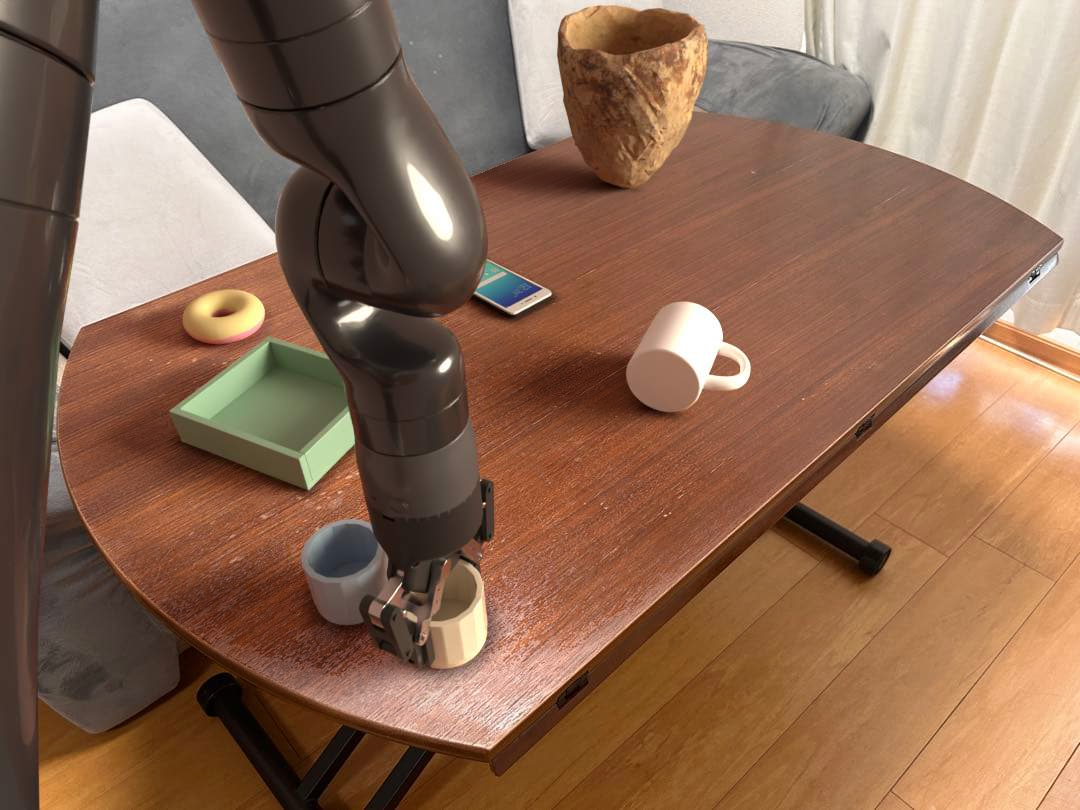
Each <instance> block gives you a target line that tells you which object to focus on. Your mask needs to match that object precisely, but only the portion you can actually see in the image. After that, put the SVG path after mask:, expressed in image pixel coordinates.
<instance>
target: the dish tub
mask: <svg viewBox="0 0 1080 810" xmlns="http://www.w3.org/2000/svg"><path fill="white" fill-rule="evenodd" d="M168 413H169V416H170V417H171V420H172V423H173V425H174V427H175V430H176V432H177V434H178V436H179V439H180V441H181V442H182V443H184V444H187V445H190V446H192V447H195V448H197V449H200V450H203V451H205V452H207V453H211V454H213V455H216V456H218V457H221V458H222V459H227V460H229V461H231V462H233V463H237V464H239V465H242V466H244V467H246V468H249V469H252V470H254V471H257V472H259V473H263V474H265V475H267V476H270V477H272V478H275V479H278V480H280V481H282V482H286V483H287V484H290V485H294V486H295V487H299V488H301V489H304V490H305V491H310V490H311V489H312V488H313V487H314V486H315V485H316V484H317V483H318V482H319V481H320V480H321V479H322V478H323V477H324V476H325V475H326V473H328V471H330V470H331V469H332V468H333V466H335V465H336V464H337V463H338V461H339V460H341V459H342V458H343V457H344V456H345V454H346V453H347V452H348V451H349V450H350V449H351V448H352V447H353V446H355V439H354V431H353V426H352V422H351V418H350V413H349V409H348V405H347V400H346V396H345V392H344V386H343V381H342V378H341V376H340V374H339V373H338V371H337V369H336V368H335V366H334V365H333V364H332V362H331V361H330V359H329V358H328V356H327V355H326V353H325V352H321V351H318V350H316V349H312V348H309V347H305V346H302V345H299V344H296V343H293V342H289V341H286V340H283V339H279V338H276V337H273V336H267V337H266V338H265V339H263V340H261V341H260V342H259V343H257V344H256V345H255V346H254V347H252V348H251V349H250V350H248V351H247V352H246V353H244V354H243V355H241V356H240V357H239V358H237V359H236V360H235V361H234V362H233V363H231V364H230V365H228V366H227V367H226V368H224V369H223V370H221V371H220V372H219V373H217V374H216V375H215V376H214V377H212V378H211V379H209V380H208V381H207V382H206V383H204V384H203V385H201V386H200V387H199V388H197V389H196V390H195V391H194V392H192V393H190V394H189V395H188V396H187V397H185V398H184V399H183V400H182V401H180V402H179V403H177V404H176V405H174V407H172V408H170V410H168Z"/></svg>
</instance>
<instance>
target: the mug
mask: <svg viewBox="0 0 1080 810" xmlns="http://www.w3.org/2000/svg"><path fill="white" fill-rule="evenodd" d="M722 329H723V328H722V327H721V323H720V322H719V320H718V318H717V317H716V315H714V314H713V312H711V311H710V310H709V309H707V308H706V307H704V306H702V305H700V304H698V303H695V302H691V301H675V302H671V303H669V304H667V305H664V306H663V307H662V308H660V310H658V312H657V313H656V314H655V316H654V318H653V320H652V321H651V323H650V325H649V326H648V328H647V330H646V332H645V334H644V335H643V337H642V338H641V340H640V342H639V344H638V346H637V347H636V350H635V351H634V353H633V354H632V356H631V358H630V360H629V362H628V364H627V366H626V371H625V377H626V382H627V385H628V387H629V389H630V391H631V393H632V394H633V395H634V397H635V398H636V399H637V400H638V401H640V402H641V403H643V404H644V405H645V406H647V407H648V408H651V409H653V410H656V411H659V412H664V413H677V412H681V411H684V410H687V409H689V408H691V407H692V406H693V405H694V404H695V403H696V402H697V401H698V400H699V398H700V396H701V393H702V391H703V390H708V391H718V392H728V391H729V392H730V391H734V390H738V389H739V388H740V389H741V387H743V386H744V385H745V384H746V383H747V382H748V380H749V377H750V374H751V363H750V361H749V359H748V357H747V356H746V355H745V353H744V352H743V351H742V350H740V349H739V348H738V347H736V346H735V345H732V344H730V343H727V342H725V341H723V330H722ZM717 356H722V357H726V358H728V359H731V360H733V361H735V362H736V363H738V365H739V367H740V370H739V372H738V373H737V374H735V375H729V376H721V375H712V374H710V372H711V371H712V370H711V369H712V367H713V365H714V363H715V360H716V358H717Z"/></svg>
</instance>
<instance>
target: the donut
mask: <svg viewBox="0 0 1080 810" xmlns="http://www.w3.org/2000/svg"><path fill="white" fill-rule="evenodd" d="M265 310H266V309H265V307H264V304H263V303H262V302H261V300H260V299H259V298H258V297H257V296H256V295H254V294H252V293H250V292H248V291H244V290H241V289H218V290H214V291H210V292H207V293H204V294H202V295H200V296H198V297H196V298H194V299H193V300H192V301H191V302H190V303H188V304H187V306H186V307H185V309H184V311H183V313H182V325H183V328H184V330H185V331H186V333H187V334H188V335H189V336H190V337H191V338H193V339H194V340H197V341H199V342H202V343H206V344H212V345H226V344H231V343H236V342H239V341H241V340H245V339H246V338H249V337H250V336H252V335H254V334H255V333H256V332H257V331H258V330H259V329H260V328H261V327H262V325H263V323H264V320H265V317H266V311H265Z"/></svg>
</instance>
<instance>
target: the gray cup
mask: <svg viewBox="0 0 1080 810" xmlns="http://www.w3.org/2000/svg"><path fill="white" fill-rule="evenodd" d="M300 562H301V568H302V571H303V574H304V576H305V579H306V582H307V585H308V589H309V591H310V595H311V597H312V600H313V603H314V605H315V607H316V610H317V611H318V613H319V614H320V615H321V616H322V617H323V619H325V620H327V621H328V622H330V623H333V624H335V625H341V626H354V625H358V624H363V623H364V620H363V618H362V616H361V613H360V611H359V605H360V602H361V600H362V598H363V597H364V596H365V595H367V594H369V595H371V596H374V597H376V598H377V596H378V595H379V594H380V592H381V591H382V589H383V588H384V587H385V585H386V584H387V582H388V579H387V567H388V556H387V555H386V553H385V551H384V550H383V549H382V547H381V546H380V544H379V543H378V541H377V540H376V538H375V536H374V534H373V531H372V526H371V522H367V521H365V520H363V519H355V518H354V519H353V518H351V519H350V518H344V519H340V520H336V521H332V522H329V523H327V524H325V525H323V526H322V527H321V528H319V529H316V530H315V531H314V532H313V533H312V534H311V536H310V537H308V539H307V540H306V541H305V542H304V545H303V547H302V549H301V553H300Z"/></svg>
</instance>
